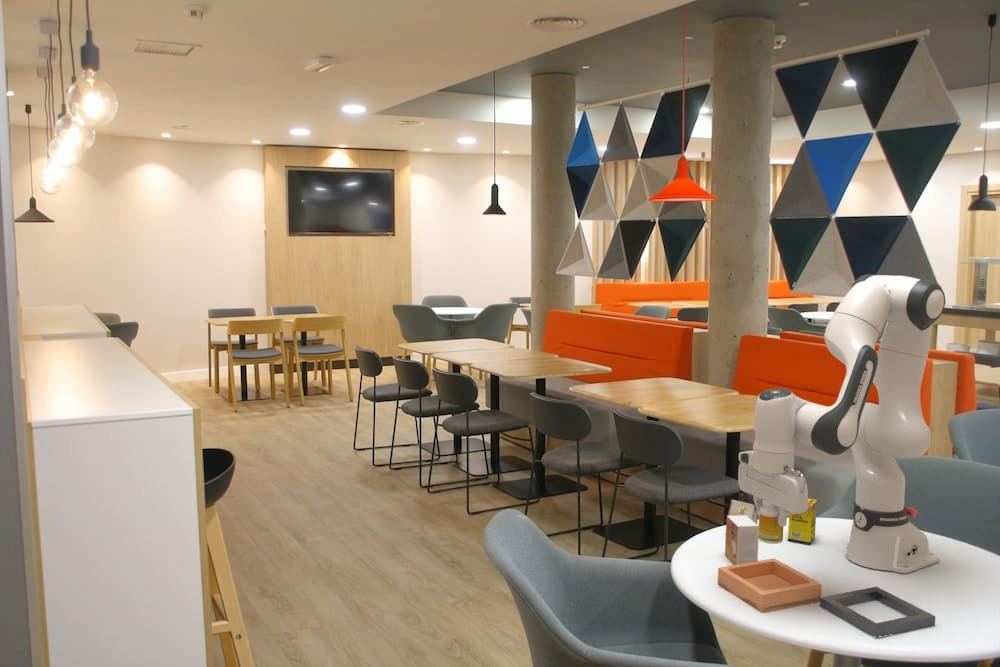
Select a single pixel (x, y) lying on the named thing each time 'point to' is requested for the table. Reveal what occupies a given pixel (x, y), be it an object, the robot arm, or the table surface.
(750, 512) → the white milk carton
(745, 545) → the small box
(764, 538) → the supplement bottle
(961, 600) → the table surface
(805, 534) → the supplement box
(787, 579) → the tray
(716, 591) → the table surface
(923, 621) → the dark grey square frame
